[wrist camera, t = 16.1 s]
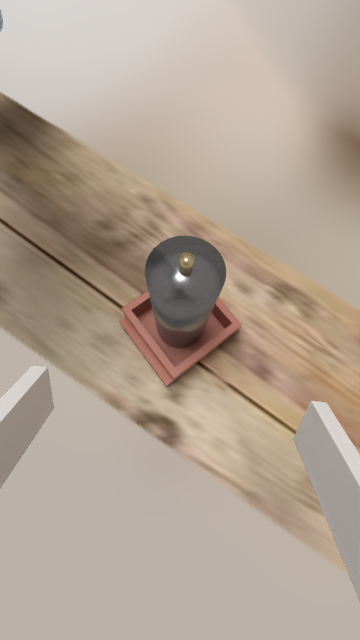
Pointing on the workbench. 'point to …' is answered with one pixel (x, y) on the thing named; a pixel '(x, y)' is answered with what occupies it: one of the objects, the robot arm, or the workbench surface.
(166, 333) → the motor housing
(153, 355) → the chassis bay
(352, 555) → the robot arm
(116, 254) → the workbench surface
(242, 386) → the workbench surface
